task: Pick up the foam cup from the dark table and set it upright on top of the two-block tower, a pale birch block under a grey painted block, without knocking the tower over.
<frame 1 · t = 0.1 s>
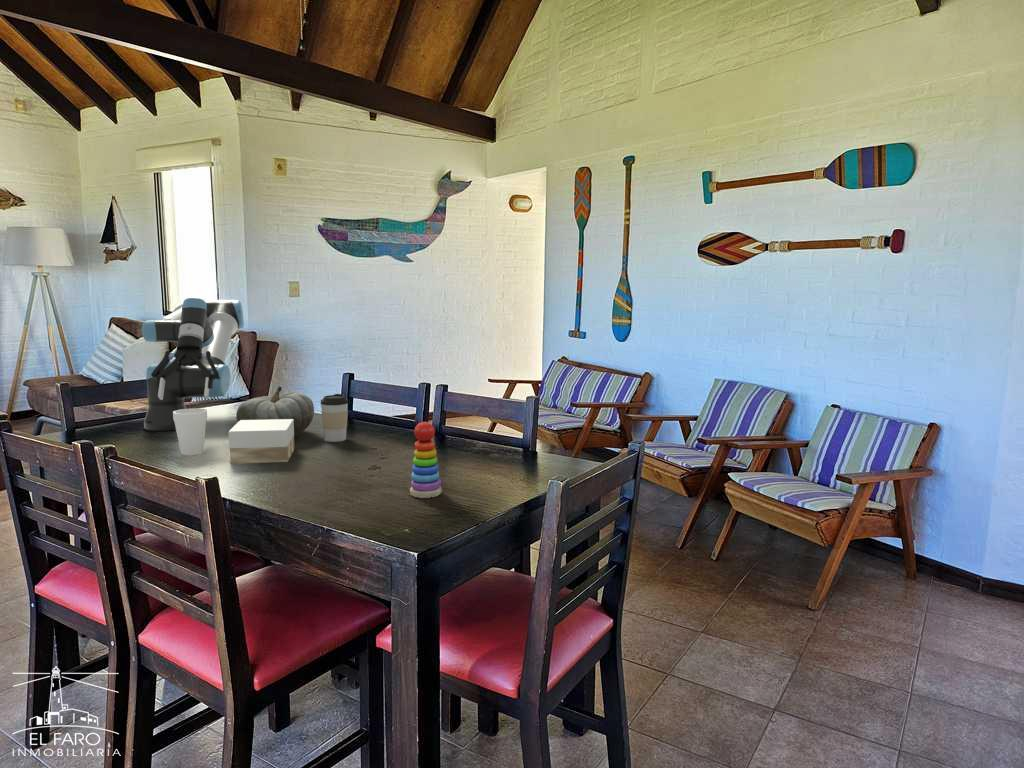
hand: (183, 397, 219), 15 cm above the table, fingers open, 13 cm apart
grey top block: (263, 441, 208), point 5 cm above the table, touching birch base block
foam cup: (192, 453, 212), on the table
gourd: (276, 436, 235), on the table
birch base block: (263, 457, 209), on the table, touching grey top block
stacking toy: (425, 495, 174), on the table
coffee cup: (335, 440, 231), on the table
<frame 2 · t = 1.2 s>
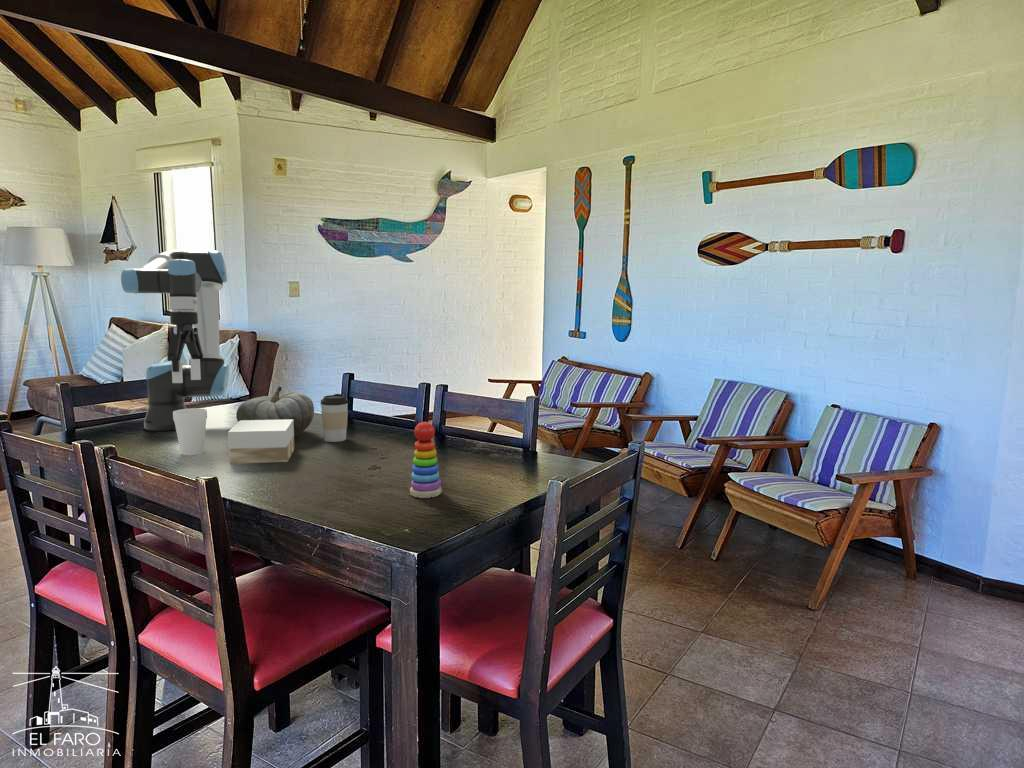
hand: (187, 381, 210), 22 cm above the table, fingers open, 13 cm apart
nothing on the table moved.
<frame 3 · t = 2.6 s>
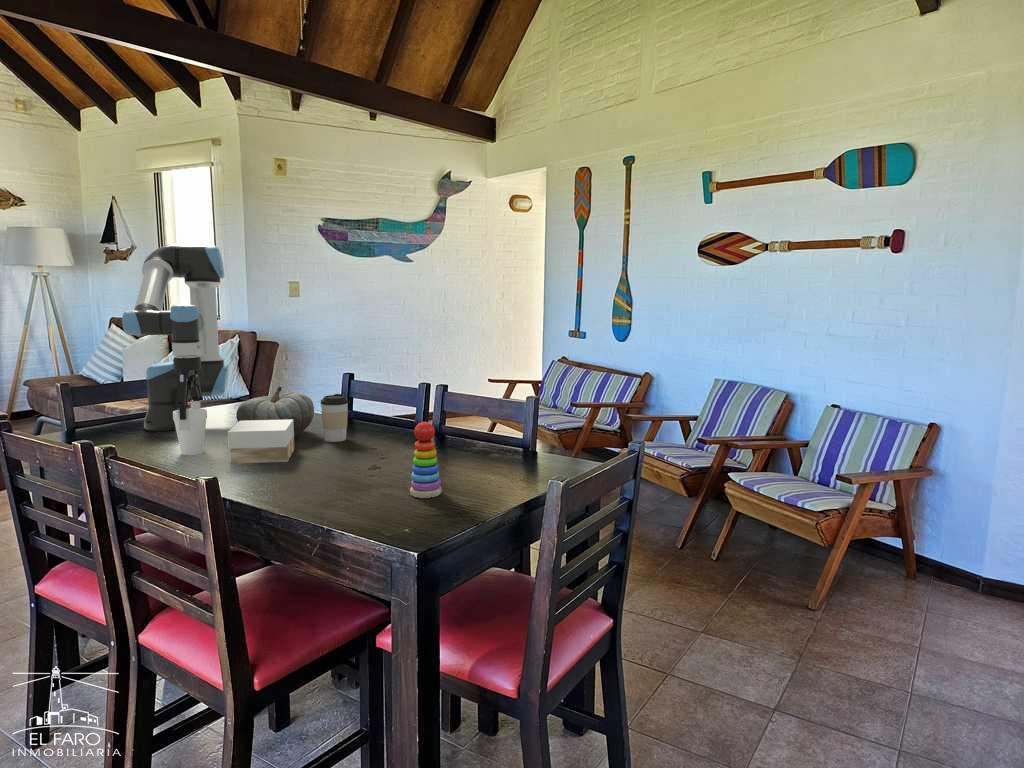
hand: (190, 425, 210), 8 cm above the table, fingers open, 13 cm apart
nothing on the table moved.
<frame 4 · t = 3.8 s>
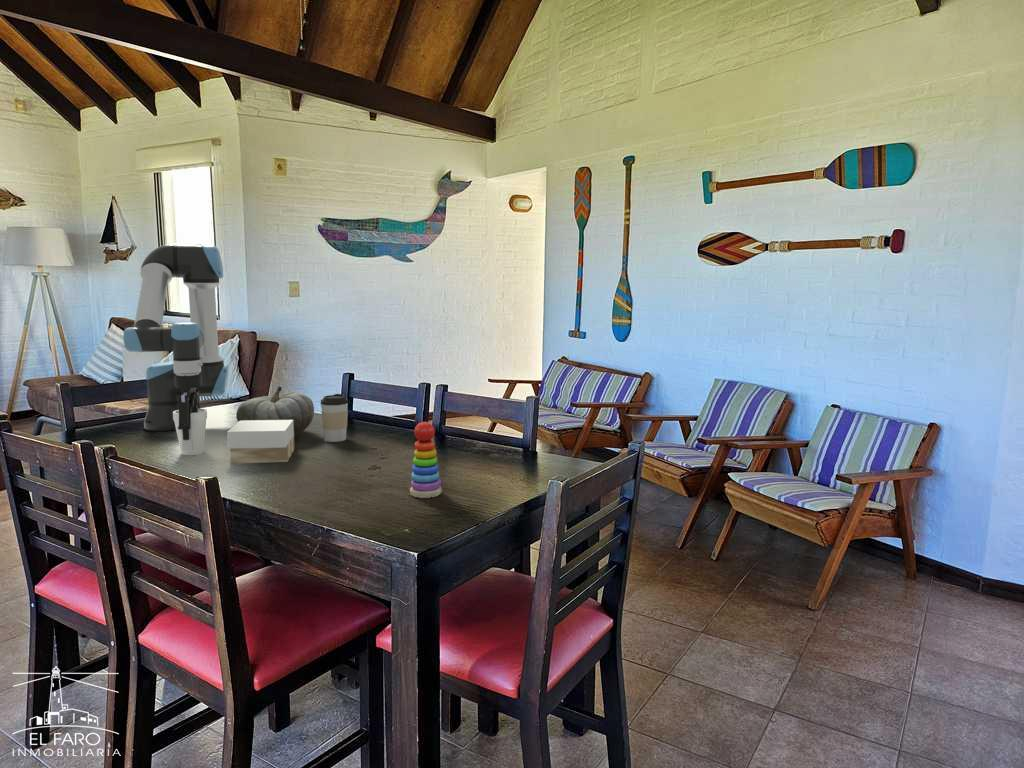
hand: (192, 446, 211), 2 cm above the table, fingers closed on foam cup, 9 cm apart
foam cup: (192, 453, 212), on the table, touching gripper
everything else where it was.
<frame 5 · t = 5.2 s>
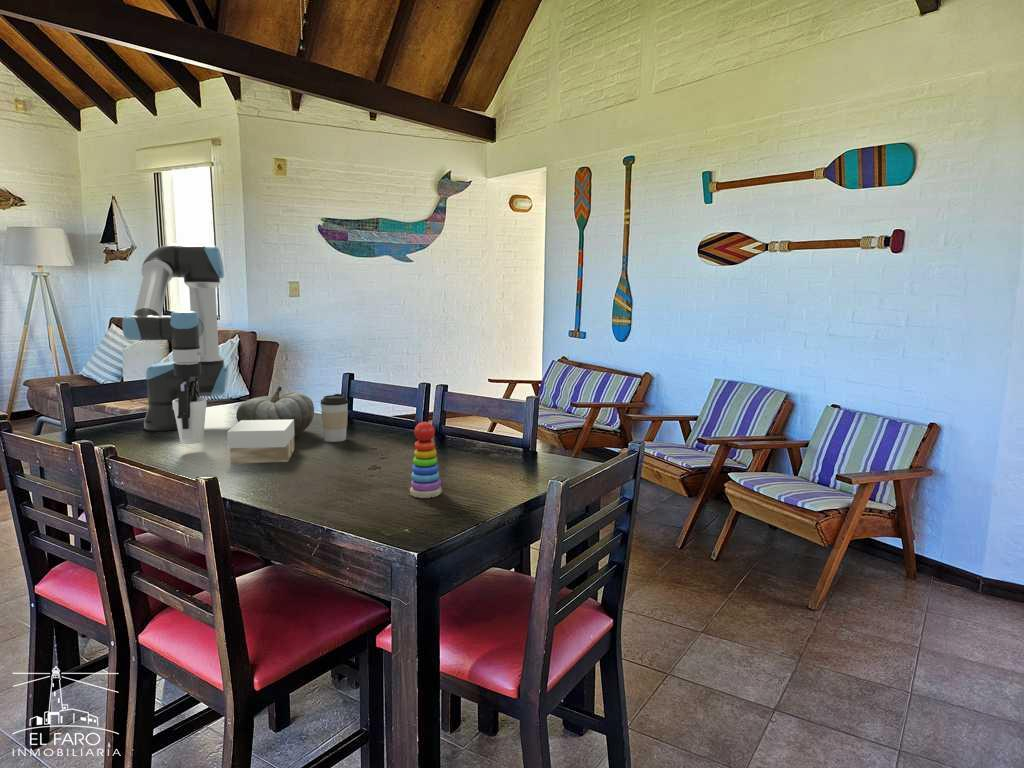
hand: (191, 435, 211), 5 cm above the table, fingers closed on foam cup, 9 cm apart
foam cup: (192, 442, 211), point 3 cm above the table, touching gripper
everything else where it was.
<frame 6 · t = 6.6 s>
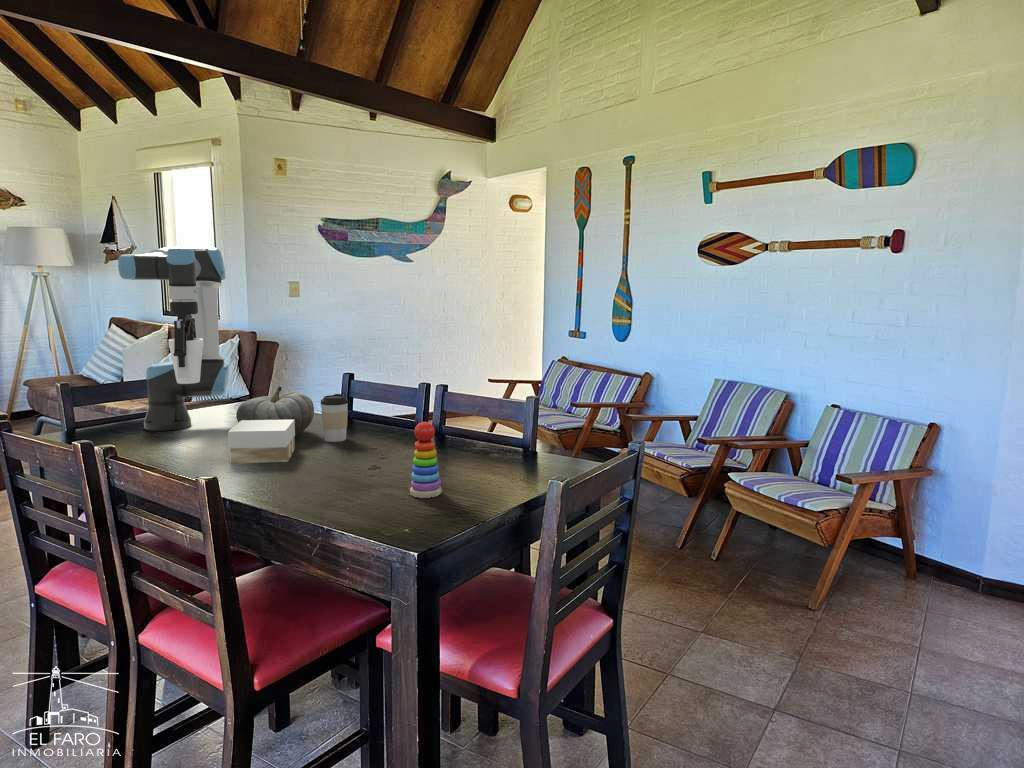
hand: (188, 375, 208), 24 cm above the table, fingers closed on foam cup, 9 cm apart
foam cup: (188, 382, 208), point 22 cm above the table, touching gripper
everything else where it was.
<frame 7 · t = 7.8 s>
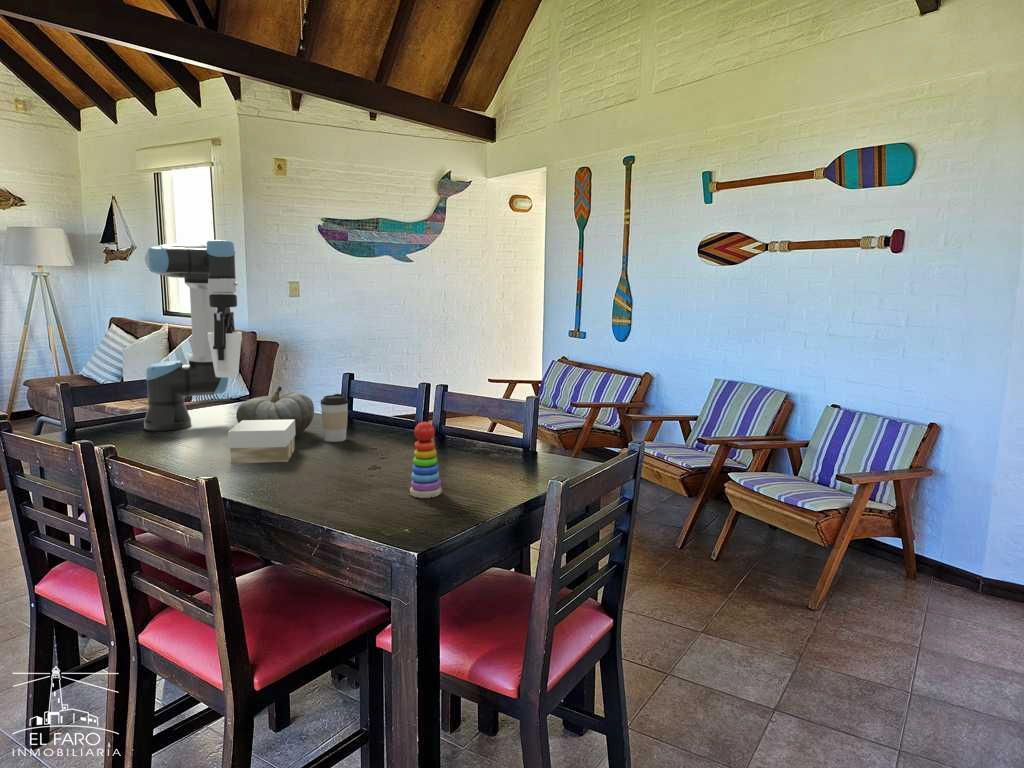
hand: (226, 369, 206), 26 cm above the table, fingers closed on foam cup, 9 cm apart
foam cup: (227, 376, 206), point 24 cm above the table, touching gripper
everything else where it was.
when the fingers open (13 cm above the table, at t = 11.0 s): foam cup stays where it is, resting on grey top block.
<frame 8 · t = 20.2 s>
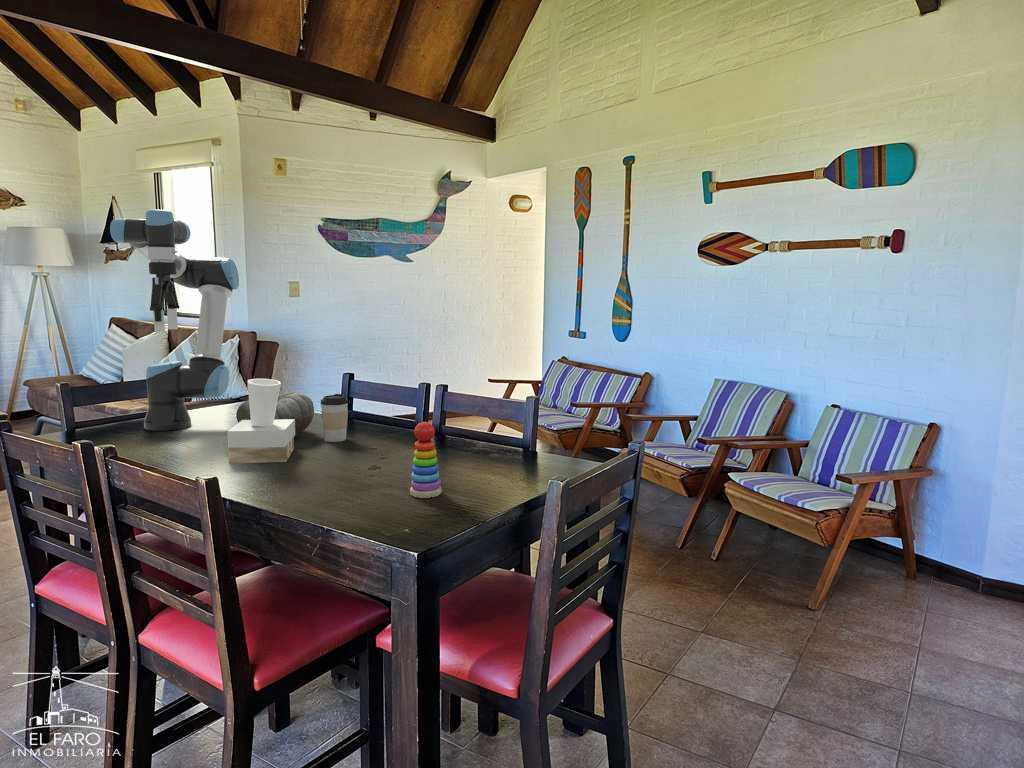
hand: (166, 330, 214), 37 cm above the table, fingers open, 13 cm apart
grey top block: (263, 441, 209), point 4 cm above the table, touching birch base block, foam cup
foam cup: (262, 424, 208), point 10 cm above the table, touching grey top block
everything else where it was.
at the end: foam cup inside the target area on the grey top block (0.2 cm from its centre), point 5.3 cm above the grey top block's base; foam cup tilted 10°; grey top block 0.3 cm off-centre on the birch base block, point 5.0 cm above the birch base block's base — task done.
